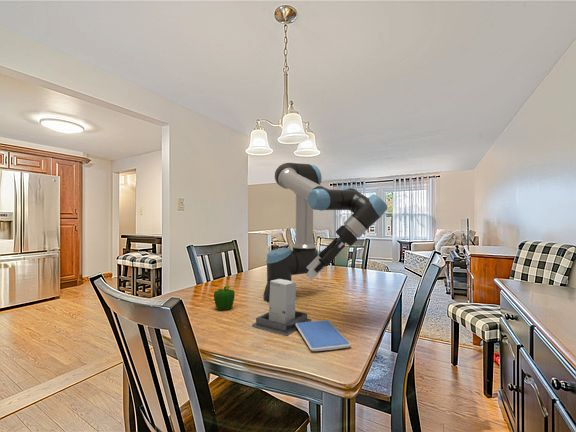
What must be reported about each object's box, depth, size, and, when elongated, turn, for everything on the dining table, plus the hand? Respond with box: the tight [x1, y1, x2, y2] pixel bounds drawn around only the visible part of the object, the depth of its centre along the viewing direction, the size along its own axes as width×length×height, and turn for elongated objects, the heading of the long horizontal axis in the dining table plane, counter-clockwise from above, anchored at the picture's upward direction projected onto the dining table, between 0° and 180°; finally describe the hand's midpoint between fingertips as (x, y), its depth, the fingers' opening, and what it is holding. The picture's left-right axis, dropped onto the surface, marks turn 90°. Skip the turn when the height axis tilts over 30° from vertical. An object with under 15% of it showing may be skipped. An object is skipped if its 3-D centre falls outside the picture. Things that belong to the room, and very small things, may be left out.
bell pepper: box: [213, 285, 236, 311], centre depth 125 cm, size 8×8×10 cm
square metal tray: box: [251, 310, 312, 337], centre depth 107 cm, size 15×16×3 cm
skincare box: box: [268, 279, 297, 324], centre depth 107 cm, size 8×6×15 cm
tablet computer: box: [295, 319, 352, 352], centre depth 94 cm, size 19×13×1 cm, turn 13°
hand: (308, 273), depth 106 cm, fingers open, 13 cm apart
